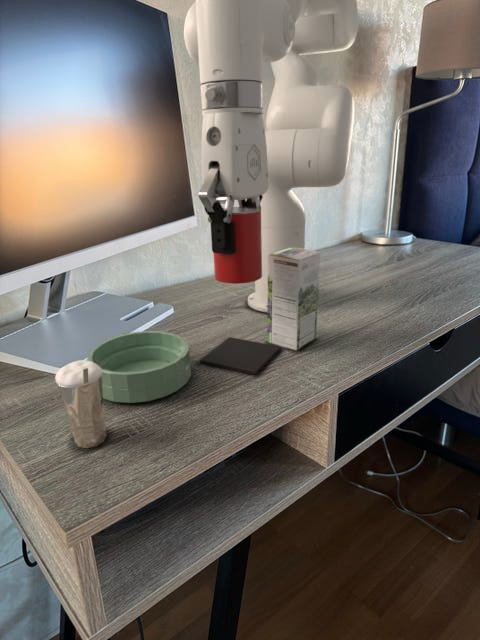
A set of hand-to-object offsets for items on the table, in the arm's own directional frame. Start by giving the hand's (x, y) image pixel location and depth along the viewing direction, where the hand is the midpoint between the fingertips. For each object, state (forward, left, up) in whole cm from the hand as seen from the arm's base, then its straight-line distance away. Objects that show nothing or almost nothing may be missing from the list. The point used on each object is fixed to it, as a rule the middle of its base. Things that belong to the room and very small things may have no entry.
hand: (237, 246), depth 60 cm
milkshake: (+25, -5, -17) cm, 31 cm away
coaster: (0, 0, -17) cm, 17 cm away
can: (0, 0, -4) cm, 4 cm away
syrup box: (-8, +5, -17) cm, 19 cm away
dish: (+12, -9, -17) cm, 22 cm away
